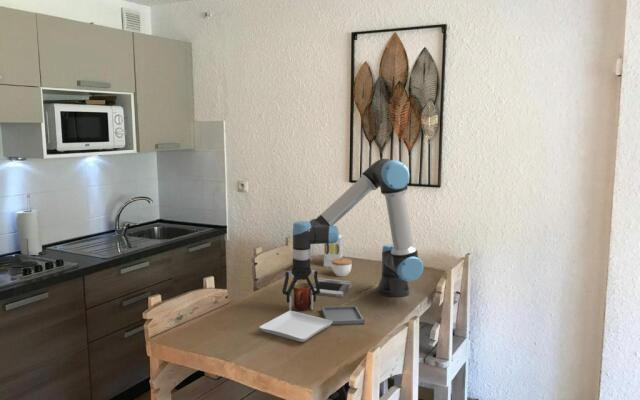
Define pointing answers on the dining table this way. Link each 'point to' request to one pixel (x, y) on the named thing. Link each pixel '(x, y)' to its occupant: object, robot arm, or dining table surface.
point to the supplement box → (332, 251)
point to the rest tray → (343, 315)
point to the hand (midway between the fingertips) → (301, 309)
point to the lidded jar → (341, 266)
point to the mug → (302, 296)
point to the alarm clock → (332, 287)
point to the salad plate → (295, 326)
